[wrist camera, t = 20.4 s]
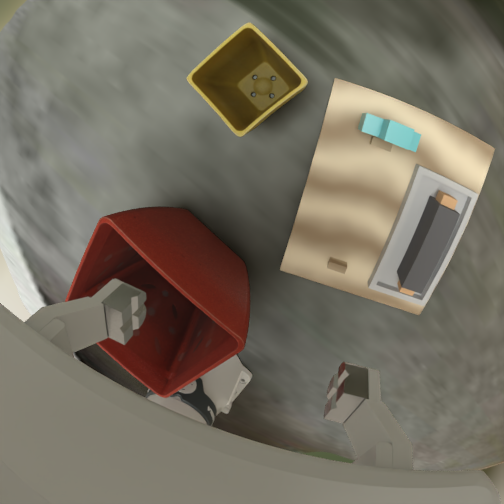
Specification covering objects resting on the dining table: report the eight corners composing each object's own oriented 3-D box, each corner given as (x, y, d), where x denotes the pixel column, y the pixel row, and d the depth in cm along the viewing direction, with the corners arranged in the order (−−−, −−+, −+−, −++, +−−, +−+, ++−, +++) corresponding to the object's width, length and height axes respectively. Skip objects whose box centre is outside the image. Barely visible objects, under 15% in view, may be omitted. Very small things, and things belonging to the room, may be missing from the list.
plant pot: (180, 173, 41) (100, 212, 26) (280, 265, 43) (249, 347, 28) (125, 255, 50) (61, 309, 35) (206, 328, 52) (163, 400, 38)
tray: (421, 299, 38) (423, 306, 37) (367, 281, 39) (368, 288, 38) (473, 191, 30) (478, 194, 28) (415, 163, 31) (419, 165, 29)
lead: (411, 285, 37) (416, 301, 34) (392, 278, 37) (397, 295, 34) (452, 195, 31) (464, 204, 27) (433, 186, 31) (443, 195, 27)
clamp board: (417, 310, 40) (421, 321, 38) (281, 265, 43) (277, 275, 40) (490, 147, 27) (500, 150, 25) (335, 79, 30) (335, 76, 28)
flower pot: (268, 39, 30) (248, 19, 22) (315, 90, 31) (310, 82, 24) (216, 84, 34) (184, 78, 26) (260, 133, 36) (238, 139, 28)
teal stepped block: (405, 147, 30) (425, 157, 23) (357, 129, 31) (365, 133, 24) (410, 131, 29) (432, 137, 22) (362, 113, 30) (371, 112, 23)
